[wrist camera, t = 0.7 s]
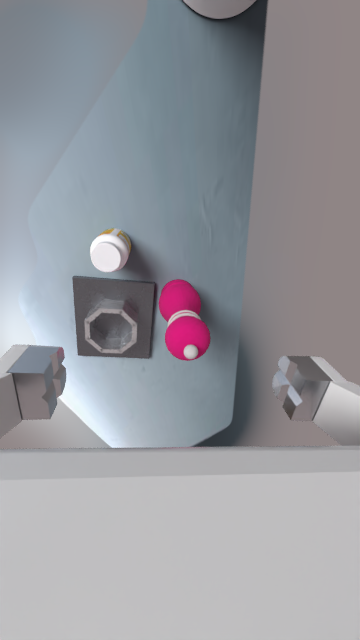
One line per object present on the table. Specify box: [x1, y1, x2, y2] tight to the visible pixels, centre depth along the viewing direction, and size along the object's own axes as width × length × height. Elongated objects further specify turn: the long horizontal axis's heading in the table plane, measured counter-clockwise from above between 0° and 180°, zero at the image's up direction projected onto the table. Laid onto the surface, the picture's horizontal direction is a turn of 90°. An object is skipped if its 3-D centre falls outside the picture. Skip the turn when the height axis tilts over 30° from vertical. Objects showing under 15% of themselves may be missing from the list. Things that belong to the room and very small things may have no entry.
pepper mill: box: [159, 279, 210, 361], centre depth 40 cm, size 7×7×20 cm
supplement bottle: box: [90, 228, 131, 272], centre depth 39 cm, size 5×5×10 cm
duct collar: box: [73, 276, 155, 358], centre depth 47 cm, size 16×14×5 cm
